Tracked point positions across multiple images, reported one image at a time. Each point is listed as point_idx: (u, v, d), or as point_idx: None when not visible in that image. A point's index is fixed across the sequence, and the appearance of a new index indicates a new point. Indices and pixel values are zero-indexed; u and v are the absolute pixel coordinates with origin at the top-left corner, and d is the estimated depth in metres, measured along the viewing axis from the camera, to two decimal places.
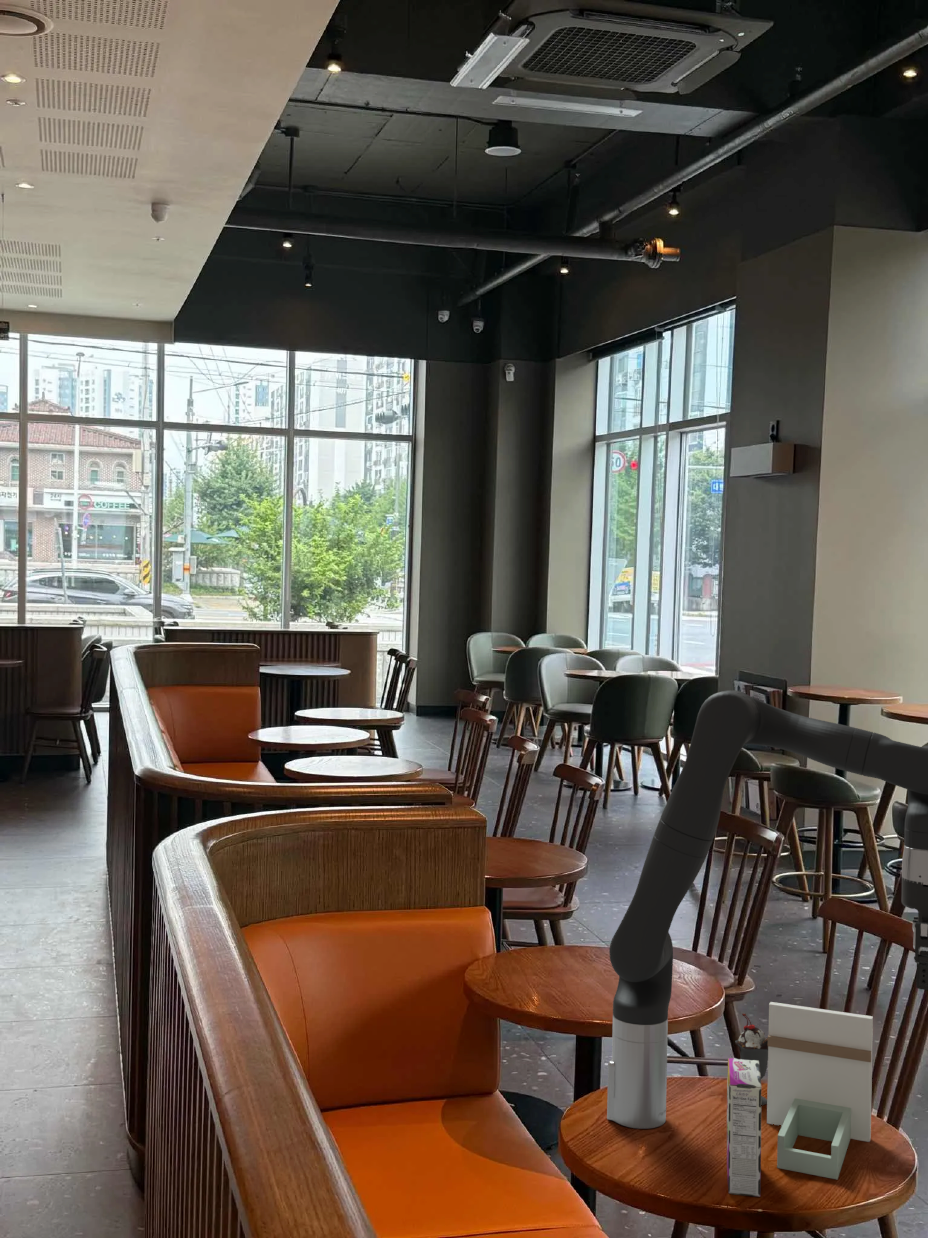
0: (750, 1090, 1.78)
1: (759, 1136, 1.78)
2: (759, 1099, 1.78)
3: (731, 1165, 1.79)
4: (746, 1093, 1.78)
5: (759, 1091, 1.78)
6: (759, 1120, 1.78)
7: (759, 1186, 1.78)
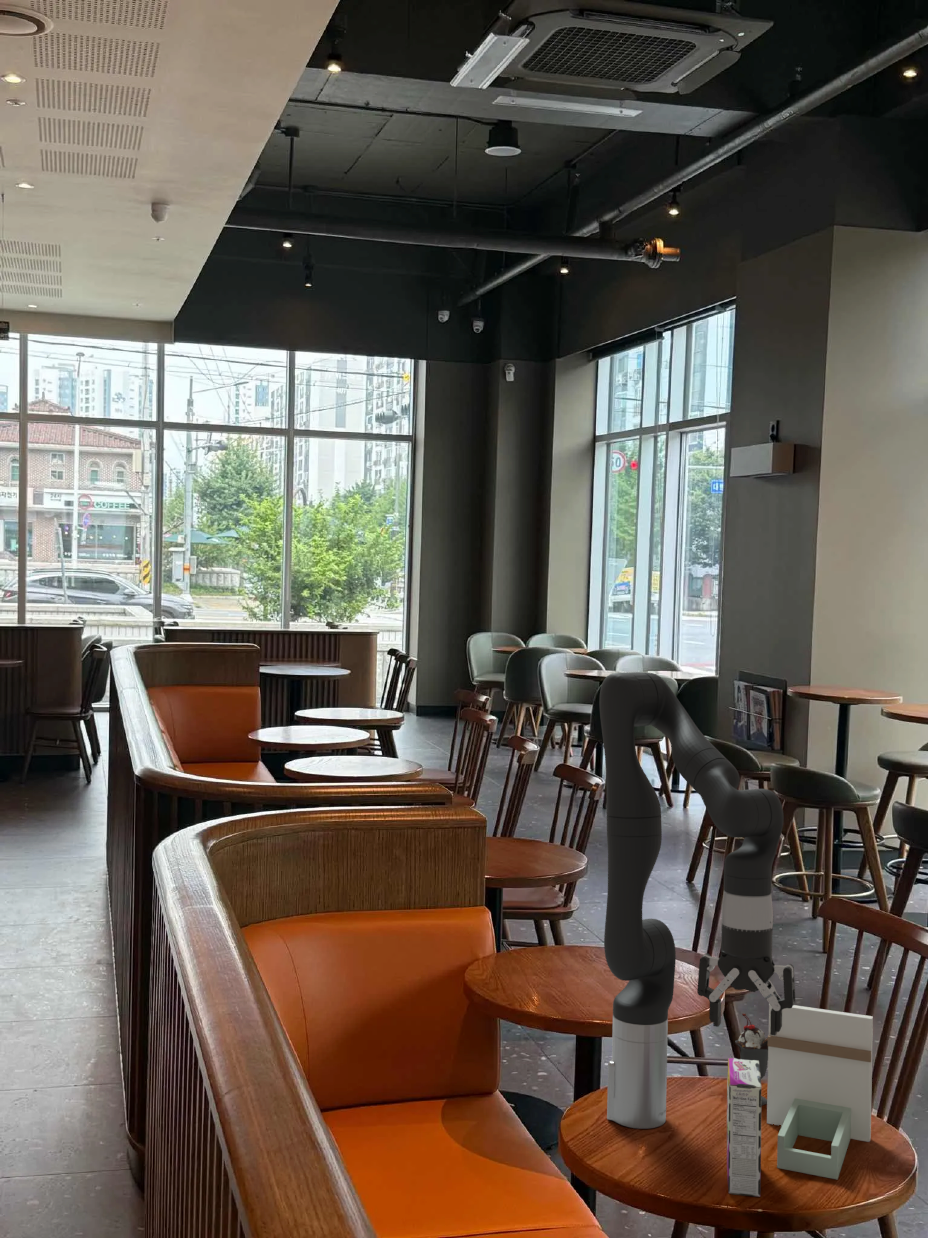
0: (750, 1090, 1.78)
1: (759, 1136, 1.78)
2: (759, 1099, 1.78)
3: (731, 1165, 1.79)
4: (746, 1093, 1.78)
5: (759, 1091, 1.78)
6: (759, 1120, 1.78)
7: (759, 1186, 1.78)
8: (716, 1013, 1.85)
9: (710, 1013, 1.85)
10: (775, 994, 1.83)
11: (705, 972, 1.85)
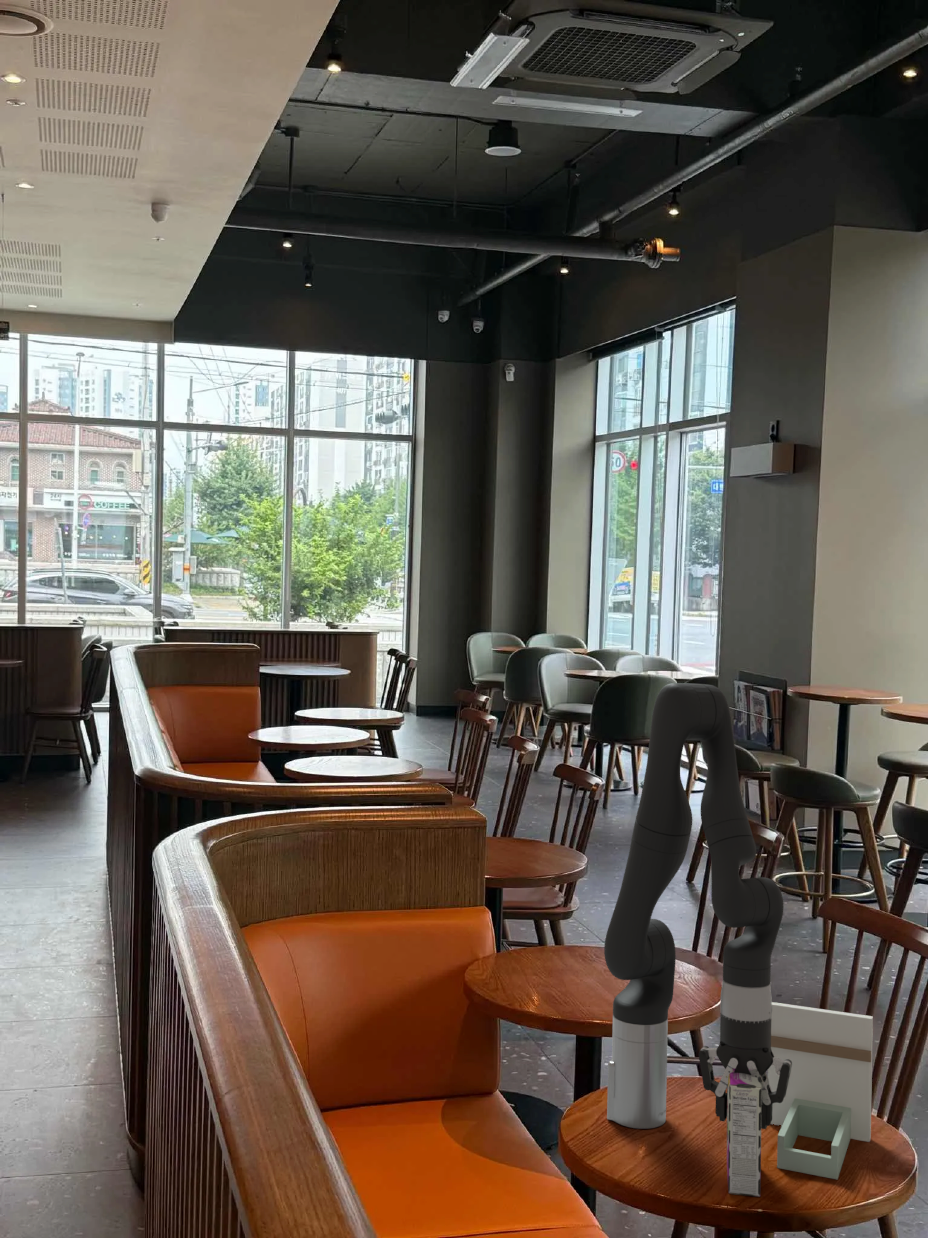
0: (750, 1090, 1.78)
1: (759, 1136, 1.78)
2: (759, 1099, 1.78)
3: (731, 1165, 1.79)
4: (746, 1093, 1.78)
5: (759, 1091, 1.78)
6: (759, 1120, 1.78)
7: (759, 1186, 1.78)
8: (722, 1108, 1.84)
9: (716, 1107, 1.85)
10: (768, 1087, 1.83)
11: (706, 1065, 1.85)
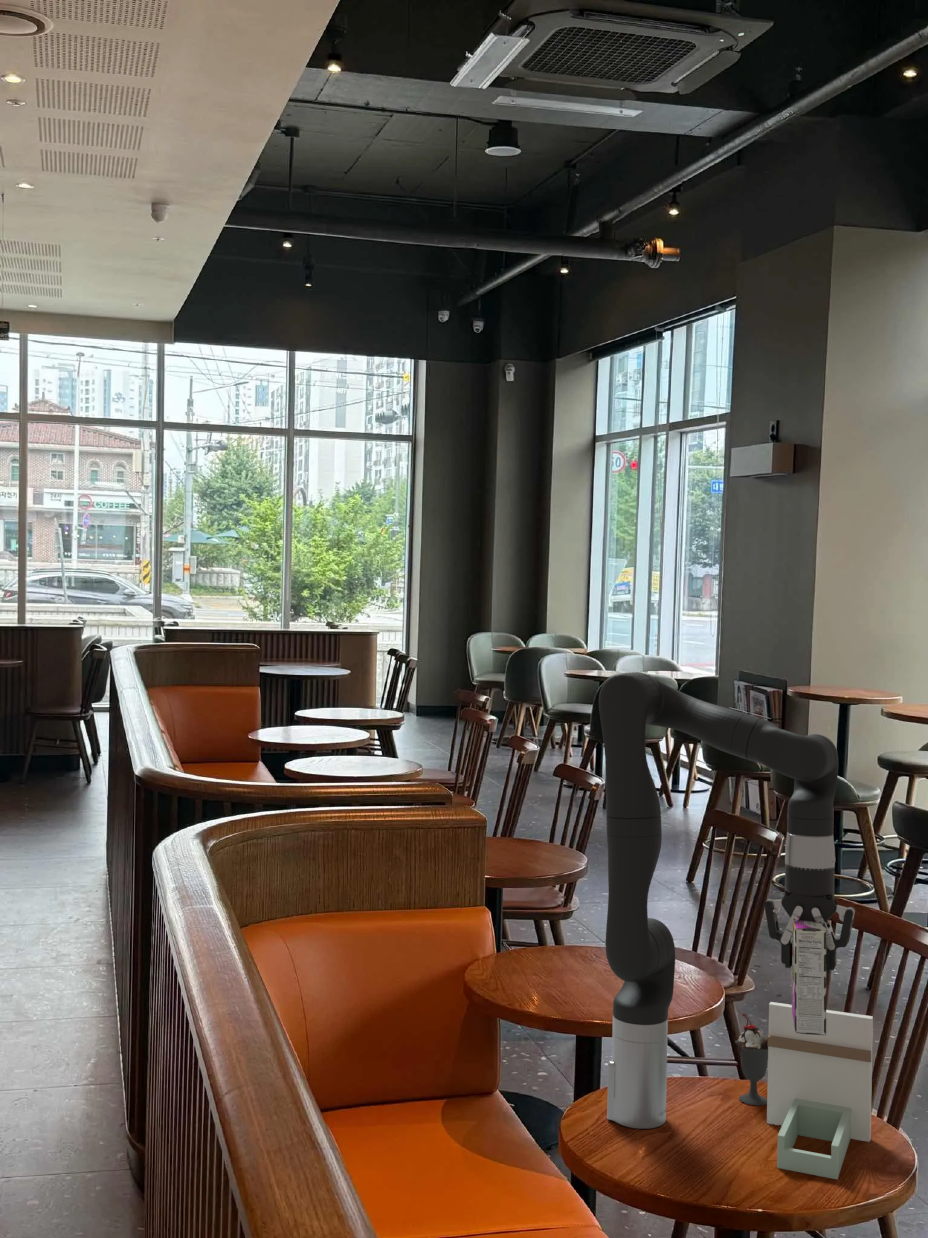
0: (815, 933, 1.86)
1: (824, 977, 1.86)
2: (824, 941, 1.86)
3: (797, 1006, 1.87)
4: (812, 936, 1.86)
5: (824, 934, 1.86)
6: (824, 961, 1.86)
7: (825, 1025, 1.86)
8: (788, 955, 1.92)
9: (782, 955, 1.93)
10: (831, 934, 1.91)
11: (772, 915, 1.93)
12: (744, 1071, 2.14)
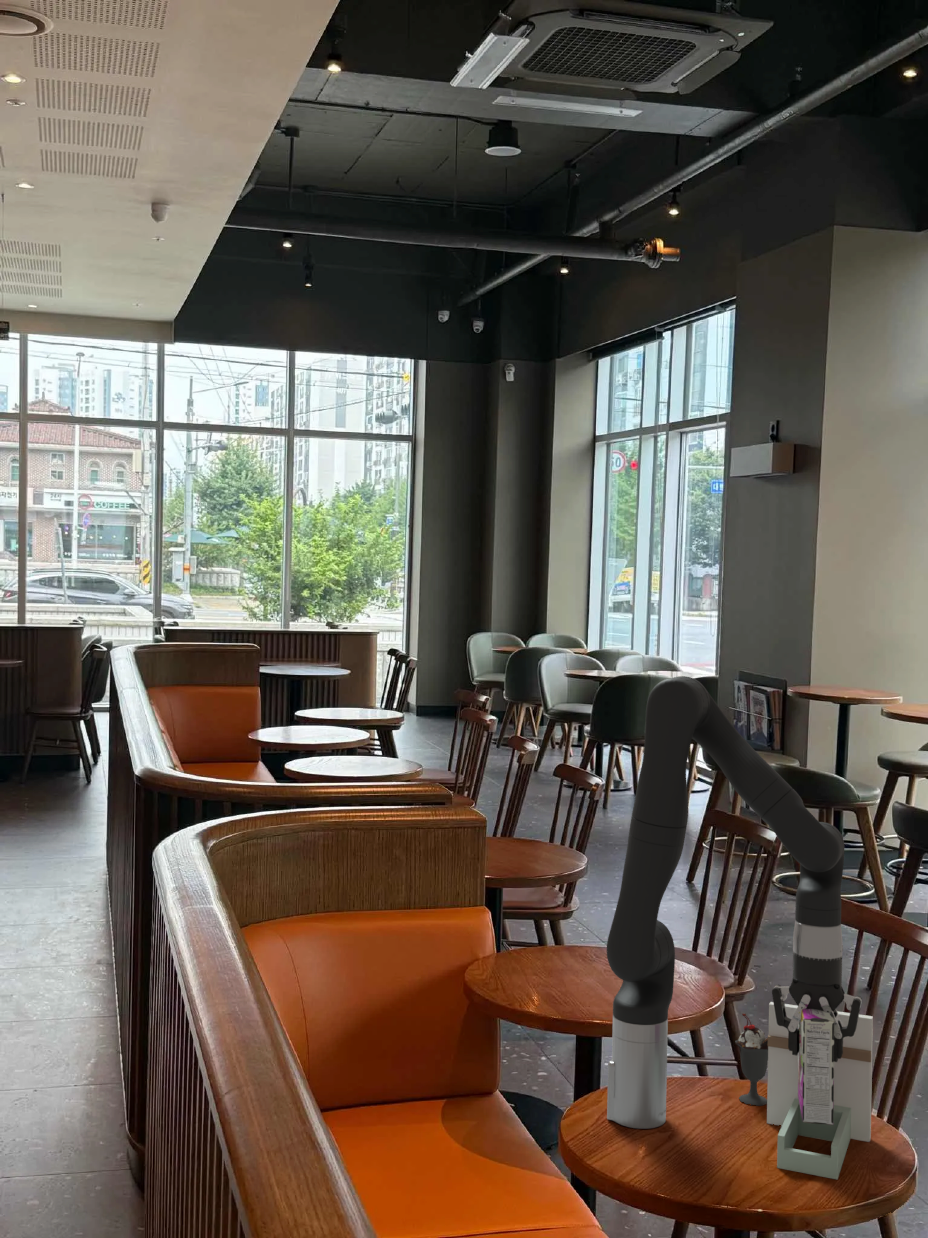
0: (824, 1024, 1.88)
1: (832, 1067, 1.87)
2: (832, 1032, 1.87)
3: (805, 1095, 1.88)
4: (820, 1026, 1.88)
5: (832, 1024, 1.87)
6: (832, 1052, 1.87)
7: (832, 1115, 1.87)
8: (795, 1042, 1.93)
9: (789, 1042, 1.94)
10: (838, 1022, 1.93)
11: (779, 1002, 1.94)
12: (744, 1071, 2.14)
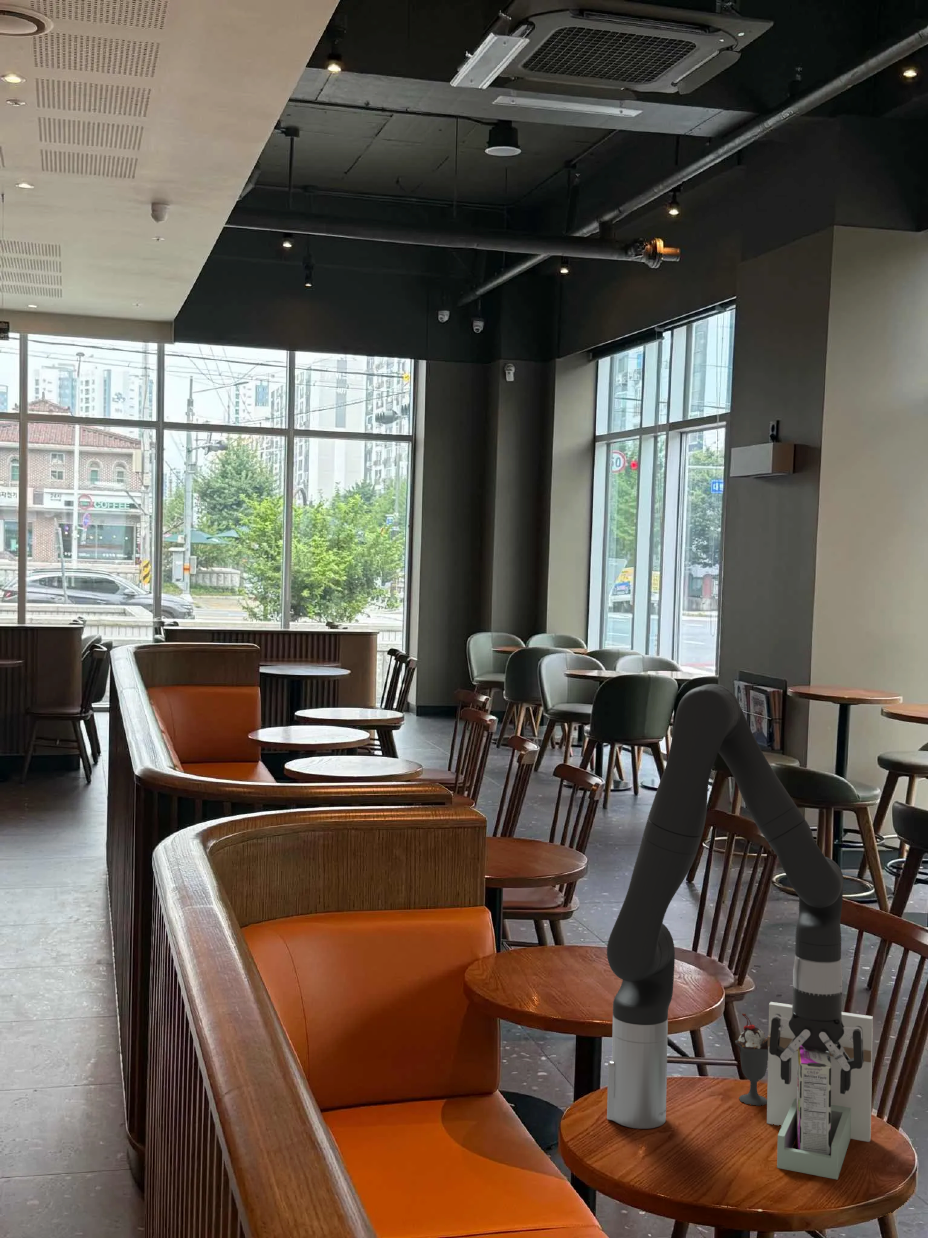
0: (821, 1069, 1.88)
1: (829, 1112, 1.87)
2: (829, 1077, 1.87)
3: (802, 1140, 1.88)
4: (817, 1071, 1.88)
5: (829, 1070, 1.87)
6: (829, 1097, 1.87)
7: None
8: (787, 1072, 1.94)
9: (781, 1071, 1.95)
10: (844, 1054, 1.92)
11: (777, 1032, 1.95)
12: (744, 1071, 2.14)
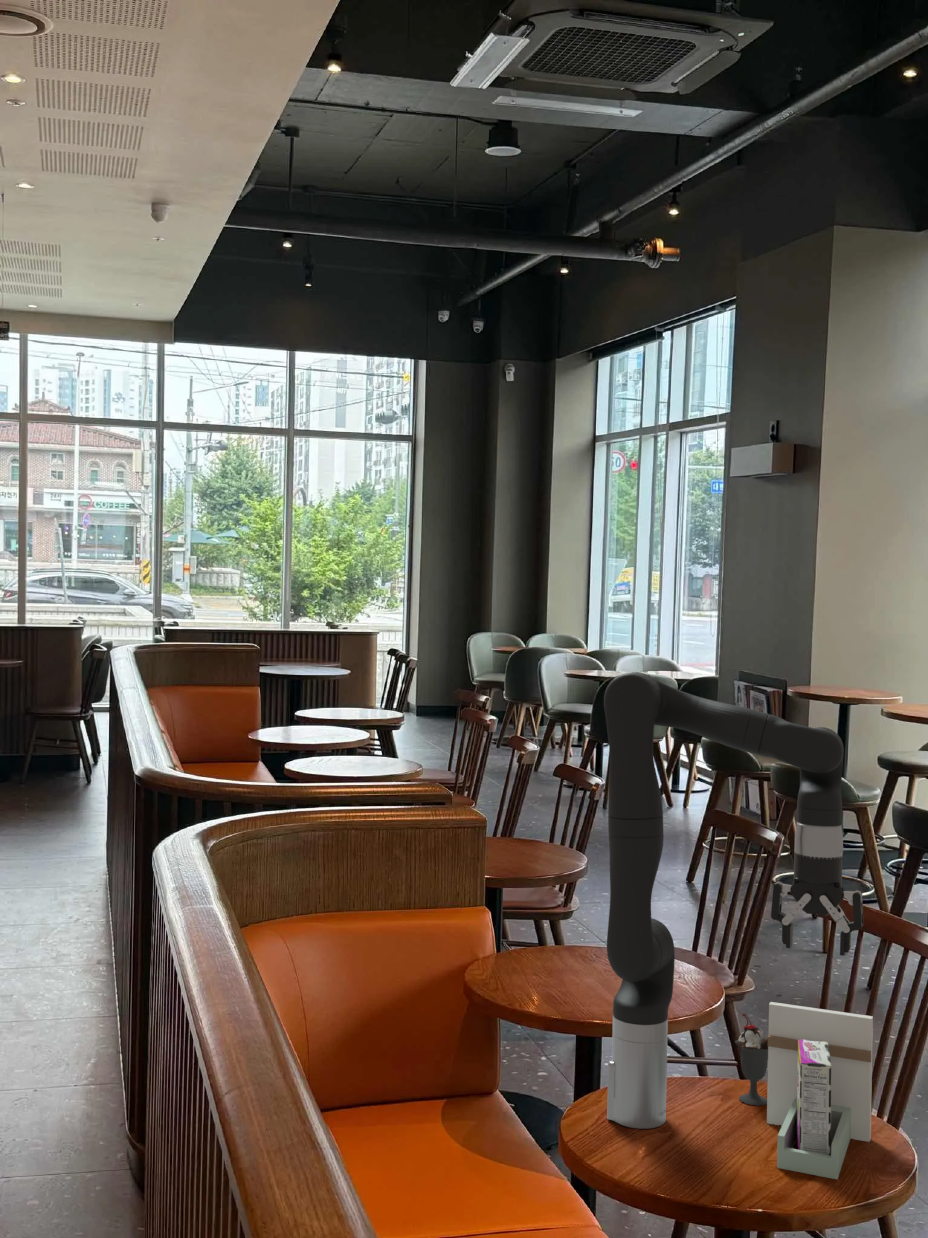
0: (821, 1069, 1.88)
1: (829, 1112, 1.87)
2: (829, 1077, 1.87)
3: (802, 1140, 1.88)
4: (817, 1071, 1.88)
5: (829, 1070, 1.87)
6: (829, 1097, 1.87)
7: None
8: (788, 936, 1.99)
9: (783, 936, 1.99)
10: (844, 918, 1.97)
11: (778, 898, 1.99)
12: (744, 1071, 2.14)
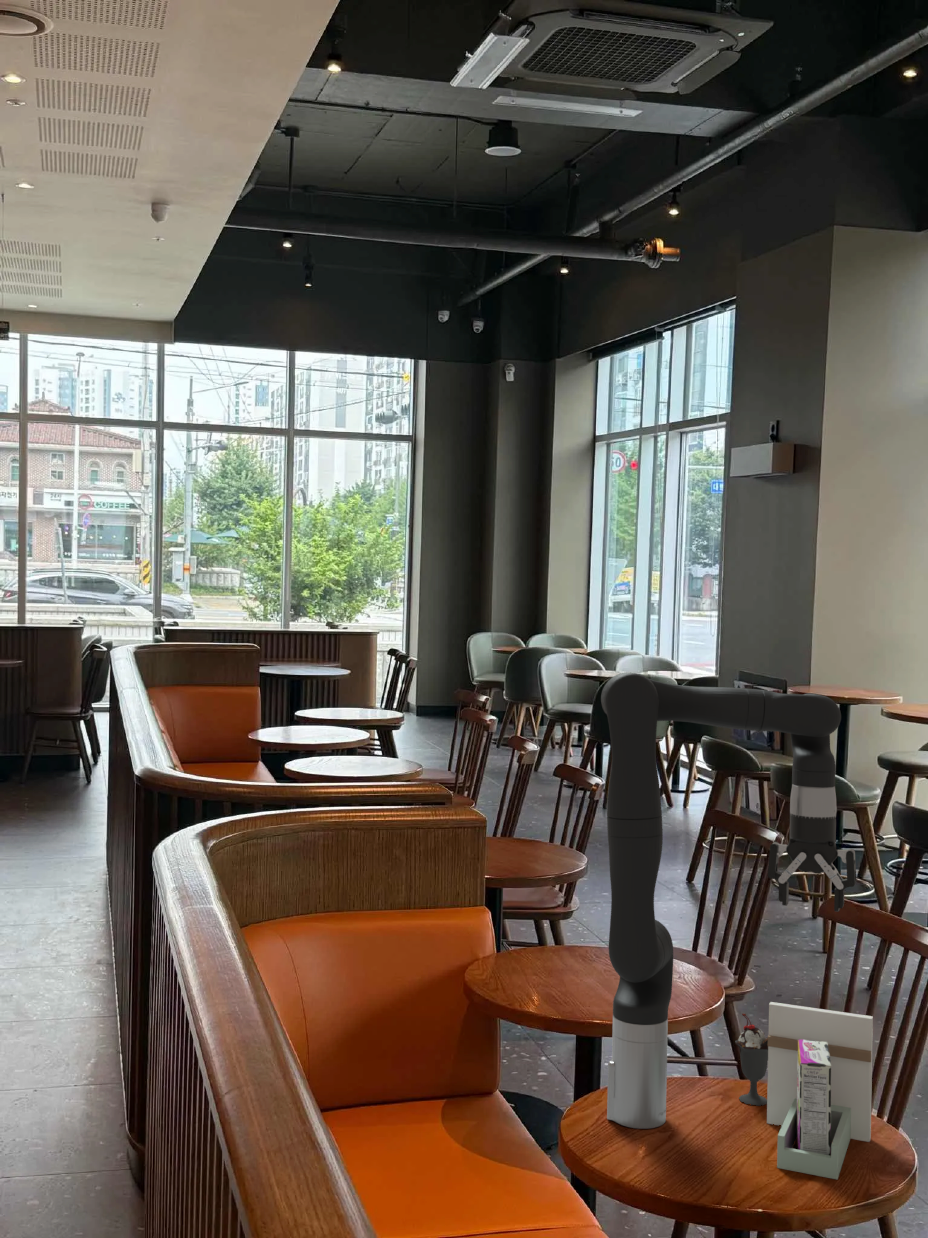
0: (820, 1068, 1.88)
1: (829, 1112, 1.87)
2: (829, 1077, 1.87)
3: (802, 1140, 1.88)
4: (817, 1071, 1.88)
5: (829, 1069, 1.87)
6: (829, 1097, 1.87)
7: None
8: (785, 893, 2.07)
9: (779, 894, 2.08)
10: (838, 876, 2.05)
11: (775, 857, 2.08)
12: (744, 1071, 2.14)
